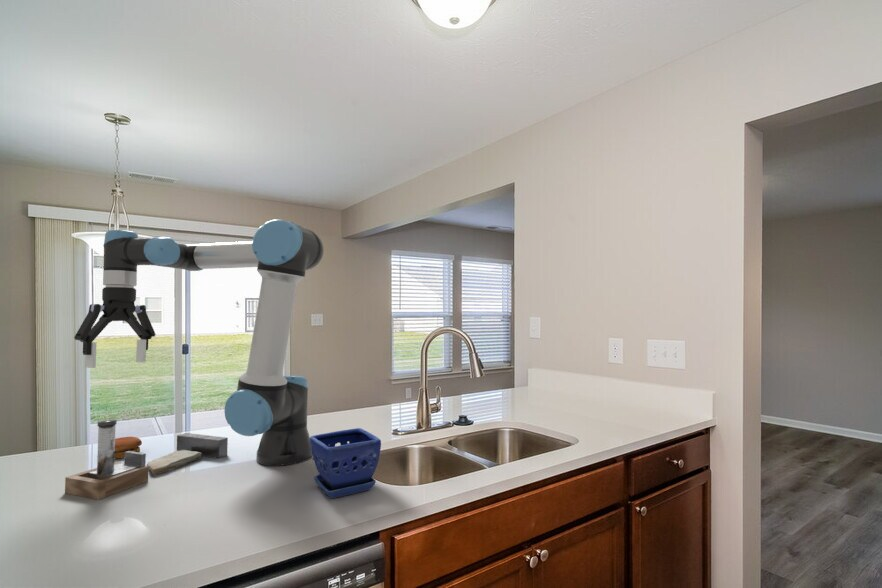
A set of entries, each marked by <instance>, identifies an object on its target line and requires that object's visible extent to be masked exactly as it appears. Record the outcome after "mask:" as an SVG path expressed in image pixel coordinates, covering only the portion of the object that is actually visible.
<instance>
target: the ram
mask: <svg viewBox="0 0 882 588" xmlns="http://www.w3.org/2000/svg"><path fill="white" fill-rule="evenodd" d="M116 425H117V419H104V420H99V421H98V422H97V427H98V428H97V429H98V432H97V433H98V434H97V456H96V457H97V460H96V461H97V462H96V465H97V466H96V468H97V470H96V471H92V472H89V473H88V478H92V479H97V480H103V479H106V478H109V477H112V476H115V475H118V474H121V473H124V472H127V471H130V470H133V469H136V468H139V467H142V466H146V463H147V462H146V455H147V453H145V452H141V451H140V452H133V451H127V452H125V458H123V459H124V461H122V462H121V463H118V464H115V465H114V462H115V459H114V455H115V439H116Z"/></svg>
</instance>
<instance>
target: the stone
mask: <svg viewBox="0 0 882 588" xmlns="http://www.w3.org/2000/svg"><path fill="white" fill-rule="evenodd" d="M201 454H202V453H201V452H196V451H188V450H180V451H177V450H175V451H173V452H170V453H168V454H166V455H163V456H160V457H158V458H155V459H153V460H151V461H147V462H146V463H147V464H146V465H147V466H148V467H149V470H150V472H151V473H152V474H153V476H155V475H158V474H161V473H165V472H168V471H171V470H173V469H176V468H179V467H181V466H184V465H186V464H188V463H191V462H194V461H199V460H200V459H201V458H202V456H201ZM170 469H171V470H170Z"/></svg>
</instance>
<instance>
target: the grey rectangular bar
mask: <svg viewBox="0 0 882 588" xmlns="http://www.w3.org/2000/svg"><path fill="white" fill-rule="evenodd" d="M228 444H229V443H228V437H225V436H224V437H223V436H215V435H208V434H207V435H206V434H199V433H190V432H189V433H188V432H185V433H181V434H178V435H176V451H180V450H188V451H196V452H201V453H202V454H201V457H204V458H213V459H222V458H224V457H227V456H228Z"/></svg>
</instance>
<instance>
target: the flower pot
mask: <svg viewBox="0 0 882 588" xmlns="http://www.w3.org/2000/svg"><path fill="white" fill-rule="evenodd" d="M336 444H340V445H336ZM310 445H311V451H312V460H313V462H314V465H315V468H316V471H317V472H318V474H316V475H314V477H313V479H314V481H315V482H316V484H317V485H318V486H319V487H320V489H322V491H323V492H324V493H325V494H326V495H327V496H328V497H329V498H330V499H335V498H339V497H344V496H347V495H353V494H357V493H362V492H366V491H369V490H371V489H372V488H373V487H374V486H375V485H376V480H375V478H373V476H374V474H375V472H376V470H377V467H378V464H379V461H380V455H381V448H382V440H381V439H380V438H379V437H377V436H376V435H374V434H372V432H371V433H370V432H369V431H367V430H365V429H363V428H360V427H358V428H357V427H356V428H349V429H343V430H337V431H331V432H326V433H320V434H315V435H311V436H310Z"/></svg>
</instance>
